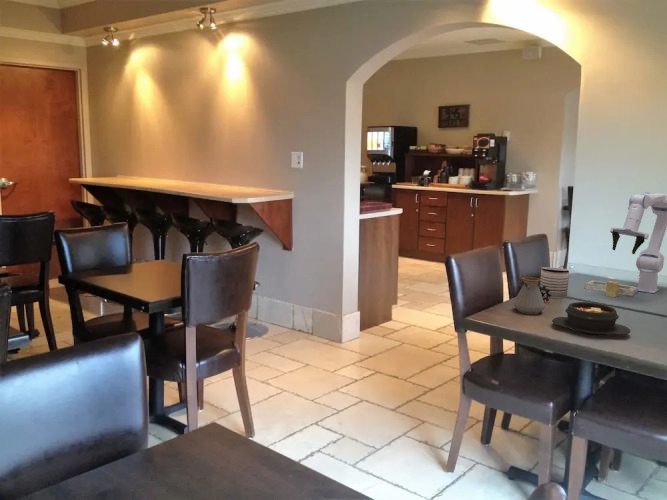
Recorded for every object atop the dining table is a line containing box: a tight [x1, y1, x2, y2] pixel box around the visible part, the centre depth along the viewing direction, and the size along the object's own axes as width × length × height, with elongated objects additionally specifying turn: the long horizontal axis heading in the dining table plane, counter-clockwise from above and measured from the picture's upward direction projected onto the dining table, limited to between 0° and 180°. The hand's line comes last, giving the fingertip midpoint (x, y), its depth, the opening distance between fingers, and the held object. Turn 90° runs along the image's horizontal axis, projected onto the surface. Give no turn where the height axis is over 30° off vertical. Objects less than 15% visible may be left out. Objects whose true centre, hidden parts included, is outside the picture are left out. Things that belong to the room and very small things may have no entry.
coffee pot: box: [513, 276, 546, 315], centre depth 225 cm, size 21×12×15 cm, turn 150°
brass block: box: [605, 280, 620, 298], centre depth 260 cm, size 4×4×6 cm
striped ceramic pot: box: [539, 266, 570, 299], centre depth 257 cm, size 11×11×12 cm
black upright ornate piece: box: [538, 286, 551, 303], centre depth 243 cm, size 7×7×12 cm
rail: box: [584, 279, 639, 297], centre depth 270 cm, size 9×20×2 cm, turn 51°
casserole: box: [551, 301, 631, 336], centre depth 207 cm, size 25×19×8 cm
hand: (623, 251), depth 250 cm, fingers open, 7 cm apart
